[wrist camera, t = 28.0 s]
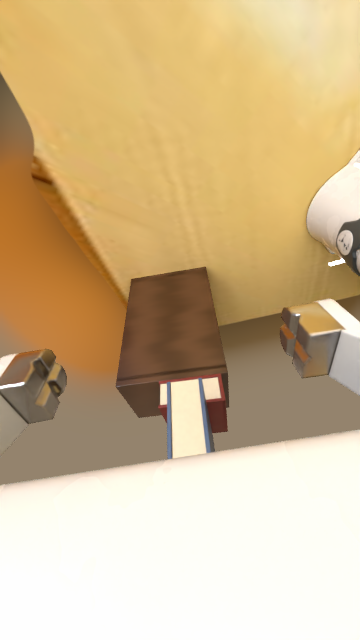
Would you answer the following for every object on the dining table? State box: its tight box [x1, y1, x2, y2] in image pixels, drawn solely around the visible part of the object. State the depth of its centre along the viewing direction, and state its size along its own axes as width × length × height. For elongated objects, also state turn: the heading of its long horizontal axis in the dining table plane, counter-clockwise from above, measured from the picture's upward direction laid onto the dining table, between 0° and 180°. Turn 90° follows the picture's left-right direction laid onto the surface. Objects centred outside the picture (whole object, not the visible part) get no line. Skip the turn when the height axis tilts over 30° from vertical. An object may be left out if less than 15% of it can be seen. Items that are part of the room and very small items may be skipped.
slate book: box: [167, 378, 215, 459], centre depth 31 cm, size 4×20×10 cm, turn 9°
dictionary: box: [158, 374, 228, 433], centre depth 38 cm, size 9×12×4 cm
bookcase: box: [116, 267, 229, 418], centre depth 48 cm, size 16×12×26 cm
